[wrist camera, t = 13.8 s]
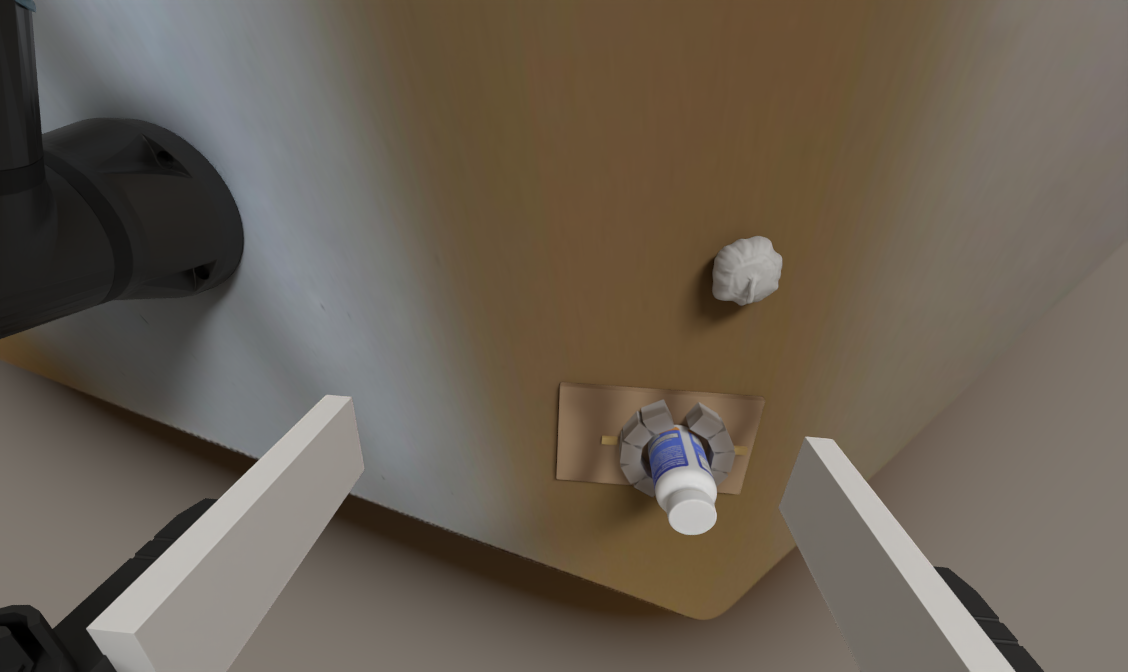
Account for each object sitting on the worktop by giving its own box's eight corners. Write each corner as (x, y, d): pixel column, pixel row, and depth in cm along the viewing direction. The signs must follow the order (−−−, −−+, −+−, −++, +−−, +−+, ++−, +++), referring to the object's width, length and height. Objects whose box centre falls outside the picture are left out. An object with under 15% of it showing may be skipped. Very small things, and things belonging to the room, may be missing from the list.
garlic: (739, 307, 39) (758, 331, 34) (690, 276, 38) (703, 296, 34) (786, 252, 37) (813, 269, 32) (736, 217, 36) (757, 230, 31)
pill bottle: (641, 459, 46) (651, 535, 37) (655, 418, 44) (668, 488, 35) (691, 468, 46) (713, 547, 37) (707, 428, 44) (734, 501, 35)
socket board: (557, 473, 49) (554, 493, 46) (560, 382, 44) (558, 398, 41) (737, 488, 48) (745, 510, 45) (762, 396, 43) (773, 414, 40)
